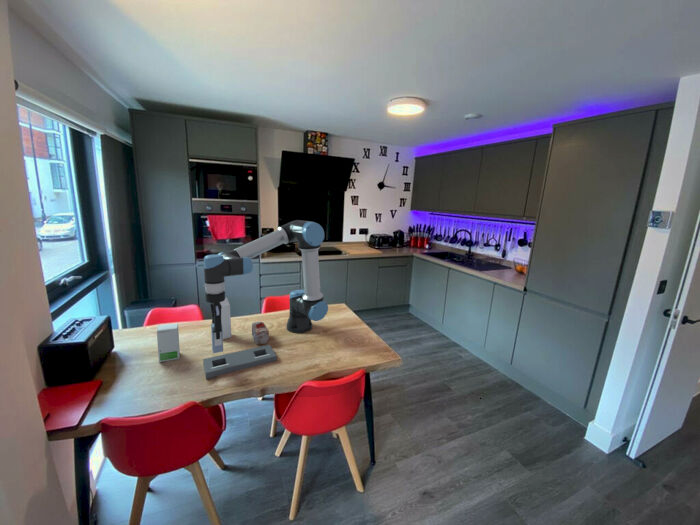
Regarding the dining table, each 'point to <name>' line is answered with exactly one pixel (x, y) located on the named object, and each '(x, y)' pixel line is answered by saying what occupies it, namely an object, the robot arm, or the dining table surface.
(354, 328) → the dining table surface
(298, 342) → the dining table surface
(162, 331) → the skincare box
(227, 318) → the milk
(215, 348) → the plug
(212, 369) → the panel
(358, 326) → the dining table surface
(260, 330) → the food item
